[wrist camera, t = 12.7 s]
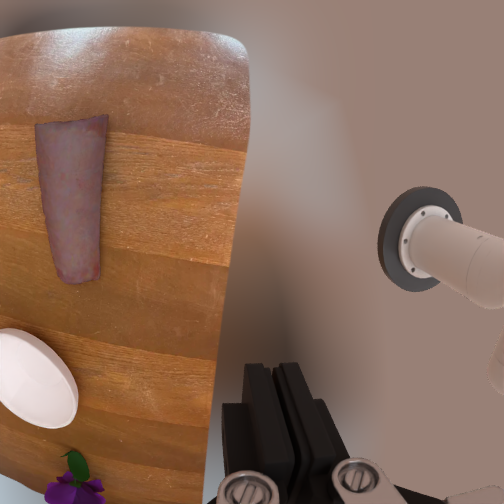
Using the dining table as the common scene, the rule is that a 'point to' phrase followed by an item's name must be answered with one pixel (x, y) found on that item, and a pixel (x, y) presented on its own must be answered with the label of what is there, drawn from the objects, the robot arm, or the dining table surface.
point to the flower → (75, 484)
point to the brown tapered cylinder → (72, 193)
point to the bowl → (35, 381)
